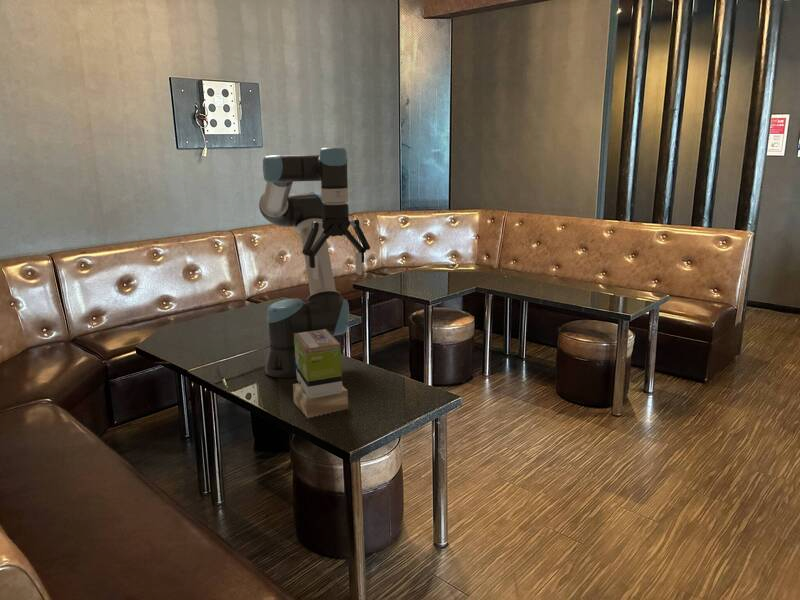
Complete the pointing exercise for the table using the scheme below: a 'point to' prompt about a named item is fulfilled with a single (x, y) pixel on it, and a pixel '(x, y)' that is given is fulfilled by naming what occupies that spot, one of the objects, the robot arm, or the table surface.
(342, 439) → the table surface
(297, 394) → the oak block
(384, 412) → the table surface
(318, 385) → the tea box
